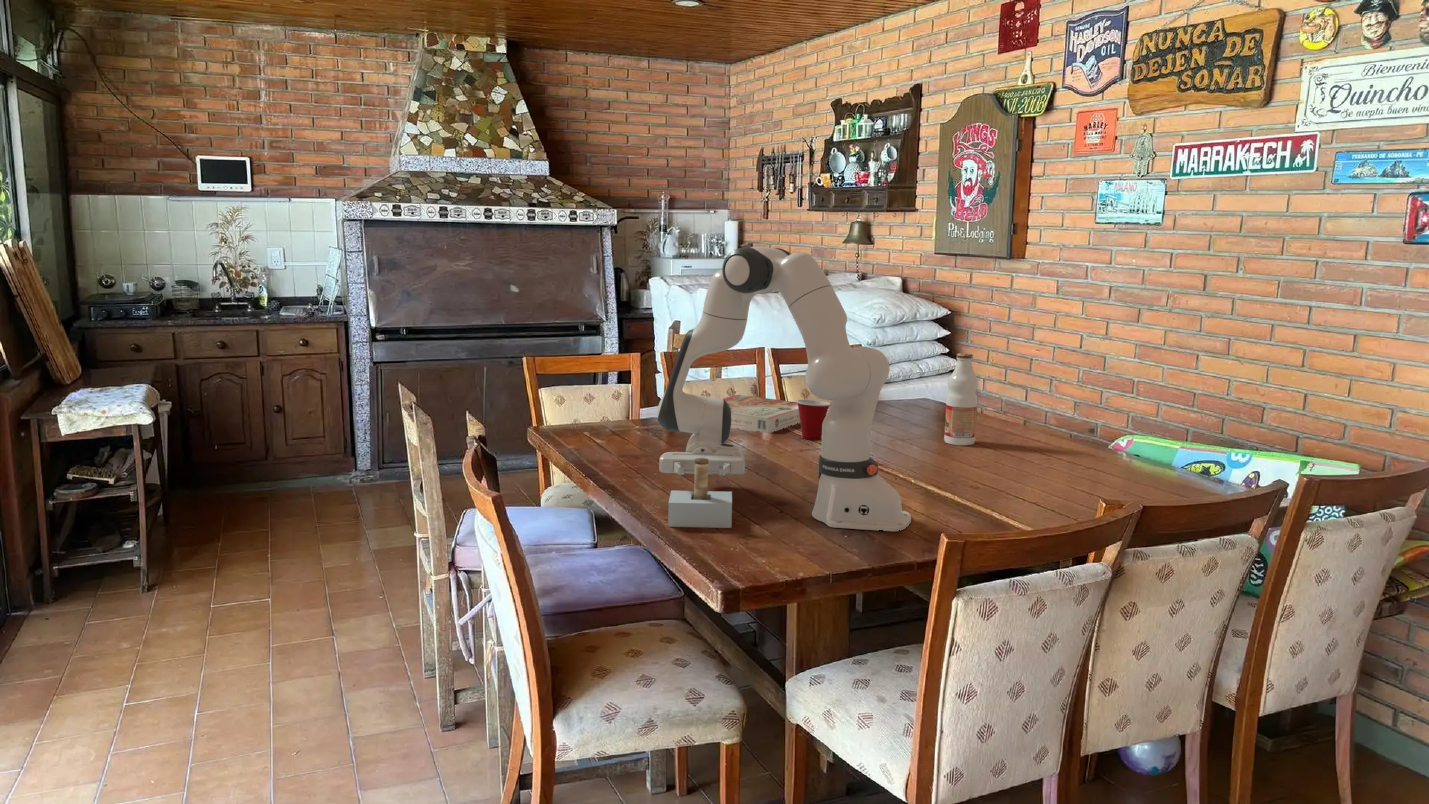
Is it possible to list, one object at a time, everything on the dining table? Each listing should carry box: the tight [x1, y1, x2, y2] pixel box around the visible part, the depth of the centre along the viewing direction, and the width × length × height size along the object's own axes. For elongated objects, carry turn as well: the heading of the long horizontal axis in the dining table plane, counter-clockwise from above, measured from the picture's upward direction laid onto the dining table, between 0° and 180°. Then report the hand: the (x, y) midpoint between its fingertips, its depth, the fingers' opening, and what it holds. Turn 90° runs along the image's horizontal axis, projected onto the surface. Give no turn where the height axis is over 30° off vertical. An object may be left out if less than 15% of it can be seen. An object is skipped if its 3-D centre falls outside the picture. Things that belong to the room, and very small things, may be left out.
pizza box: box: [702, 394, 800, 434], centre depth 333 cm, size 32×5×32 cm
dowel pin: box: [693, 458, 709, 500], centre depth 217 cm, size 3×3×12 cm
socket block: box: [667, 490, 733, 529], centre depth 218 cm, size 14×10×6 cm
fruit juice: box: [943, 352, 979, 447], centre depth 300 cm, size 9×9×28 cm
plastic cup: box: [795, 399, 832, 441], centre depth 305 cm, size 11×11×12 cm
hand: (701, 471), depth 221 cm, fingers open, 8 cm apart
